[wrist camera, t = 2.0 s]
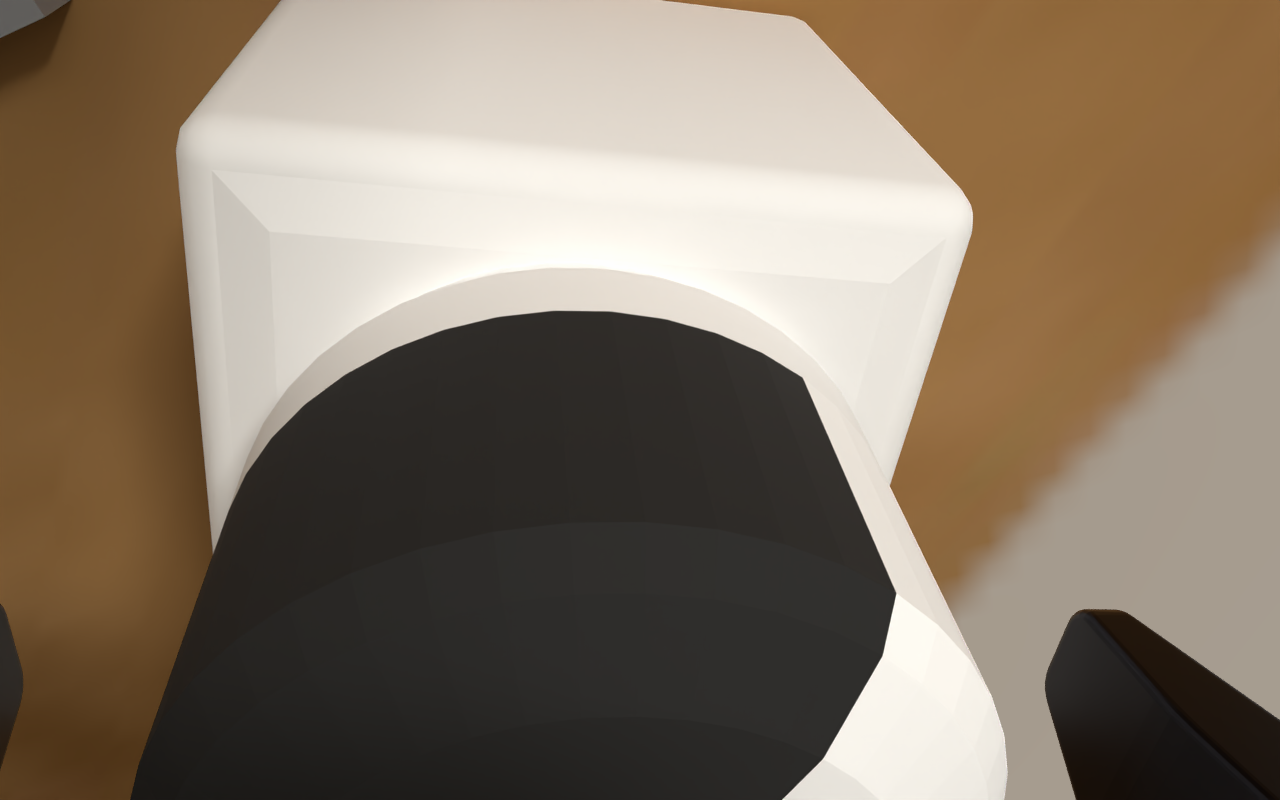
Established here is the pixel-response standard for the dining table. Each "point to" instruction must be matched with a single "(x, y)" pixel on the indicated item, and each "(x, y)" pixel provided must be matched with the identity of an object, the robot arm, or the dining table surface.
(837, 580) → the medicine bottle
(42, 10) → the bottle caddy
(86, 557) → the dining table surface
